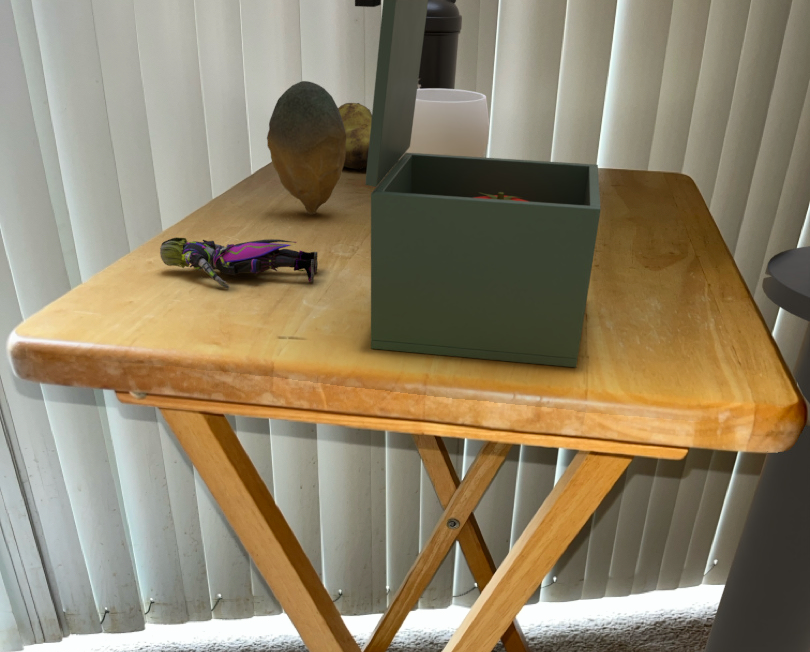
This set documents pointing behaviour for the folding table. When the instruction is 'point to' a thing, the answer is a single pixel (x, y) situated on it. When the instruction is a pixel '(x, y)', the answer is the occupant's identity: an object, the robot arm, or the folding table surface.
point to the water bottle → (440, 45)
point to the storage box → (483, 257)
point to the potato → (356, 134)
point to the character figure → (236, 257)
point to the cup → (450, 123)
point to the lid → (395, 84)
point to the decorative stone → (307, 143)
